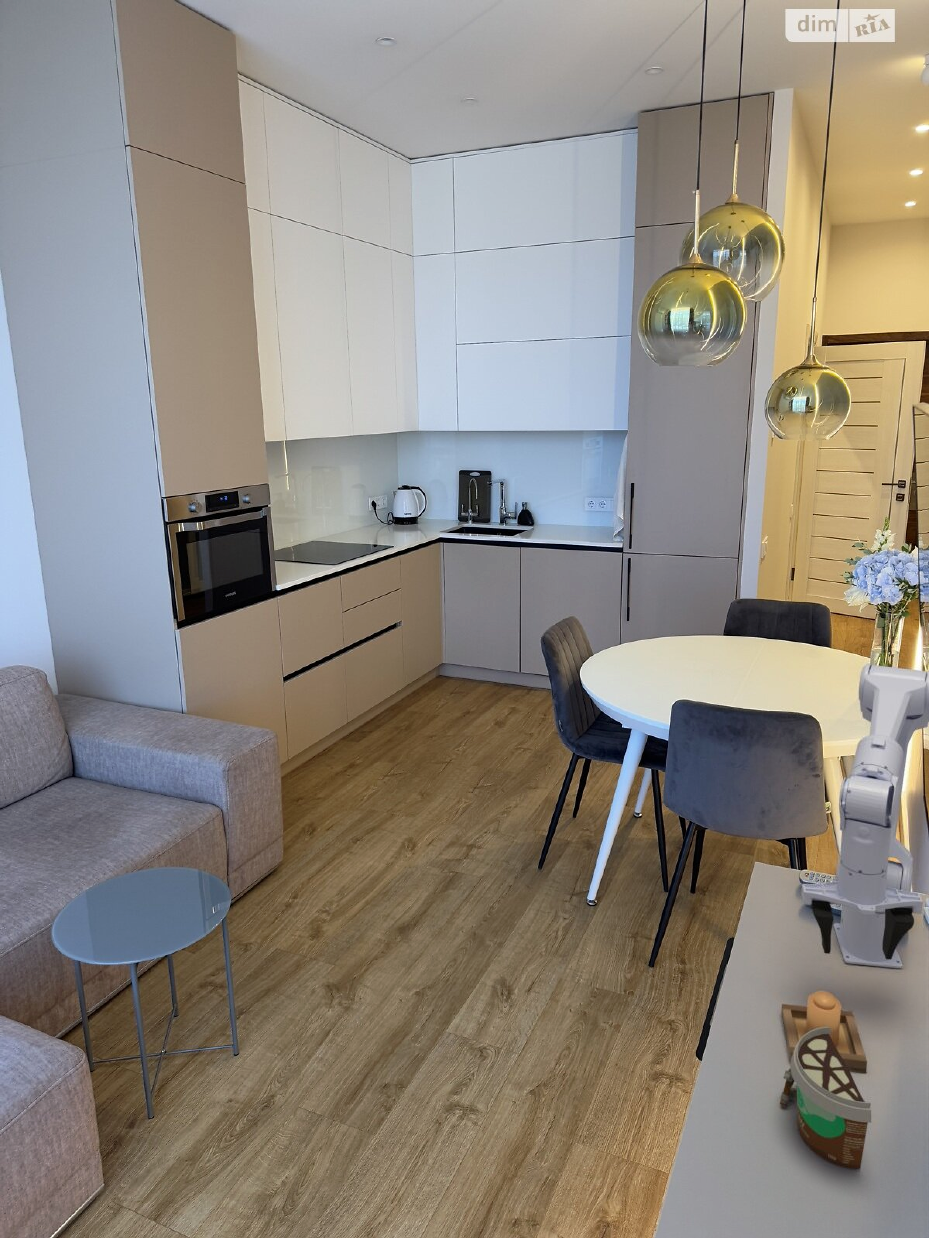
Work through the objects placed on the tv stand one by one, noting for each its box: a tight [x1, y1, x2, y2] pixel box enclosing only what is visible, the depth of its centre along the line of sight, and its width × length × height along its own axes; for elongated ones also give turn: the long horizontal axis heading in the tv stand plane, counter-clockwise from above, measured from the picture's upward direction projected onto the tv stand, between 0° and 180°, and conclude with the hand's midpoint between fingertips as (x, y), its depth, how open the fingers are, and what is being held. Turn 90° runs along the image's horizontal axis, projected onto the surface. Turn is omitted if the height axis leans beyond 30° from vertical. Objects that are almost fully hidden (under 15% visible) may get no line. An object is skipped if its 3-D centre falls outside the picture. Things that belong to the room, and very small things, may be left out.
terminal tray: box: [781, 1003, 868, 1074], centre depth 112 cm, size 9×9×2 cm
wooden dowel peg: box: [806, 990, 842, 1046], centre depth 111 cm, size 4×4×6 cm
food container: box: [789, 1027, 872, 1170], centre depth 97 cm, size 12×6×10 cm, turn 178°
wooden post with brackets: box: [779, 1067, 797, 1108], centre depth 104 cm, size 2×8×4 cm, turn 132°
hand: (856, 951), depth 115 cm, fingers open, 7 cm apart
